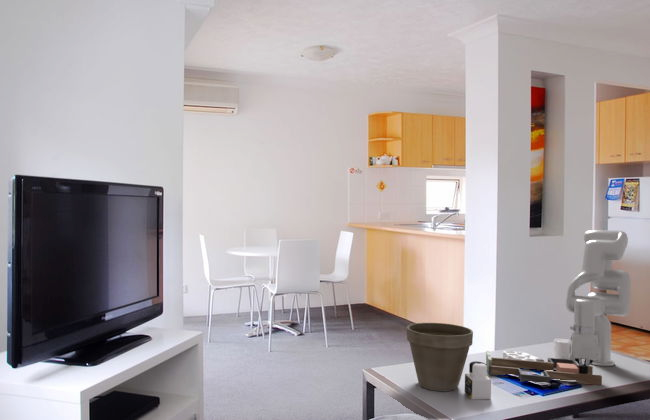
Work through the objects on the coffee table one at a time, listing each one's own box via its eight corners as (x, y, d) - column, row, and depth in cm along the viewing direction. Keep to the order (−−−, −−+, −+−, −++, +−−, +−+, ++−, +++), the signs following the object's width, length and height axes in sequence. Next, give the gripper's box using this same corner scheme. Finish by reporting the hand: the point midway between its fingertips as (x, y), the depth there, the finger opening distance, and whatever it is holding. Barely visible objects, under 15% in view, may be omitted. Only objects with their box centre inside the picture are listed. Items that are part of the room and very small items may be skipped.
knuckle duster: (549, 367, 223) (522, 370, 218) (521, 356, 240) (495, 358, 235) (550, 360, 223) (522, 362, 218) (521, 349, 240) (495, 351, 235)
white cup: (575, 366, 225) (575, 343, 225) (555, 364, 226) (556, 342, 226) (570, 361, 232) (570, 339, 233) (551, 359, 234) (552, 337, 234)
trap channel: (484, 360, 230) (485, 346, 231) (586, 369, 221) (587, 355, 221) (489, 380, 202) (490, 365, 202) (607, 391, 192) (607, 375, 192)
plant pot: (415, 371, 211) (416, 318, 211) (477, 381, 200) (478, 325, 201) (396, 389, 189) (398, 330, 189) (464, 401, 178) (466, 339, 178)
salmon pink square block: (556, 373, 214) (556, 362, 214) (574, 375, 212) (574, 364, 212) (559, 378, 207) (560, 367, 207) (578, 380, 205) (578, 369, 205)
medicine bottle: (464, 392, 187) (465, 359, 187) (483, 392, 187) (483, 359, 187) (471, 399, 180) (472, 365, 180) (491, 399, 180) (491, 365, 180)
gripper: (566, 330, 205) (565, 376, 205) (607, 333, 202) (606, 379, 202) (562, 326, 213) (561, 370, 213) (601, 329, 209) (600, 374, 209)
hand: (583, 375), depth 207 cm, fingers closed
